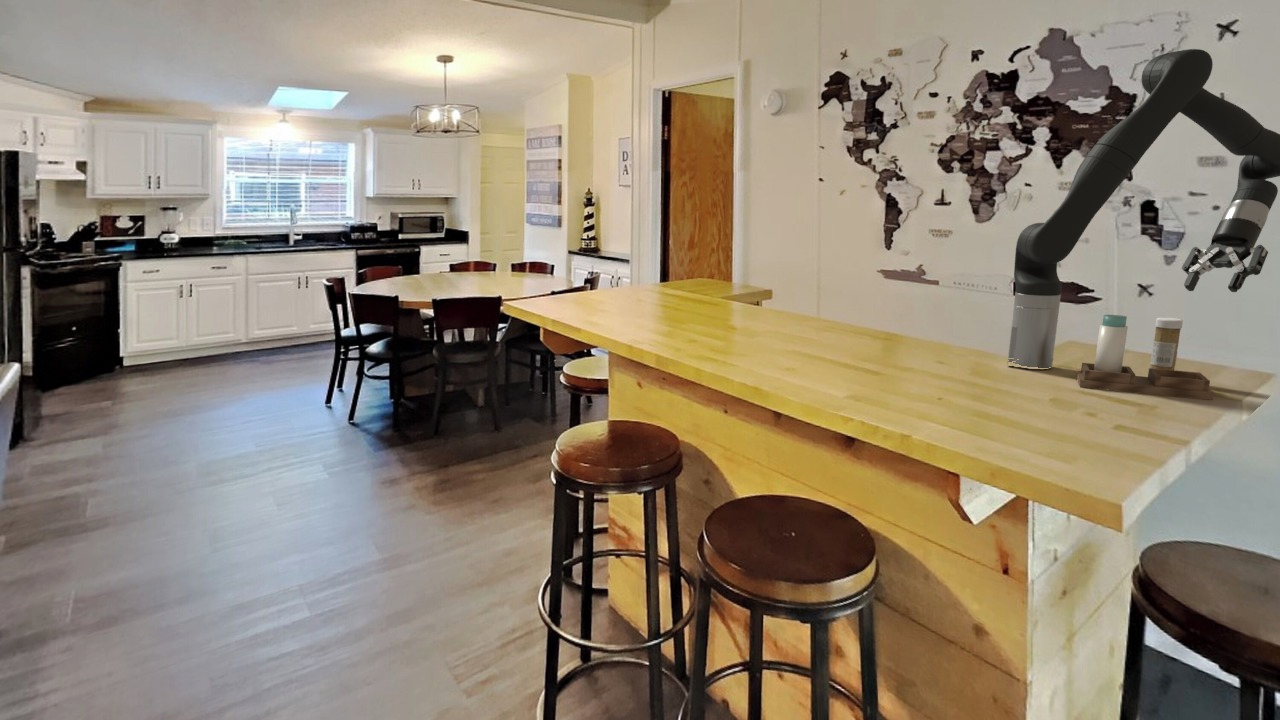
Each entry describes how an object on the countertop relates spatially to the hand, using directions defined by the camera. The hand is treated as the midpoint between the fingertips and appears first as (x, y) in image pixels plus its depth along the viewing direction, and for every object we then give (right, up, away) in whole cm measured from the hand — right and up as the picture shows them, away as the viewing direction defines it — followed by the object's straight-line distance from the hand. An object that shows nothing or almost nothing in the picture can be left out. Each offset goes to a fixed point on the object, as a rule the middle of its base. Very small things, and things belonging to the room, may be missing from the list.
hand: (1209, 289), depth 153 cm
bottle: (-26, -19, -5) cm, 33 cm away
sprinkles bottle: (-11, -20, 0) cm, 23 cm away
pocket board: (-21, -21, -8) cm, 31 cm away
